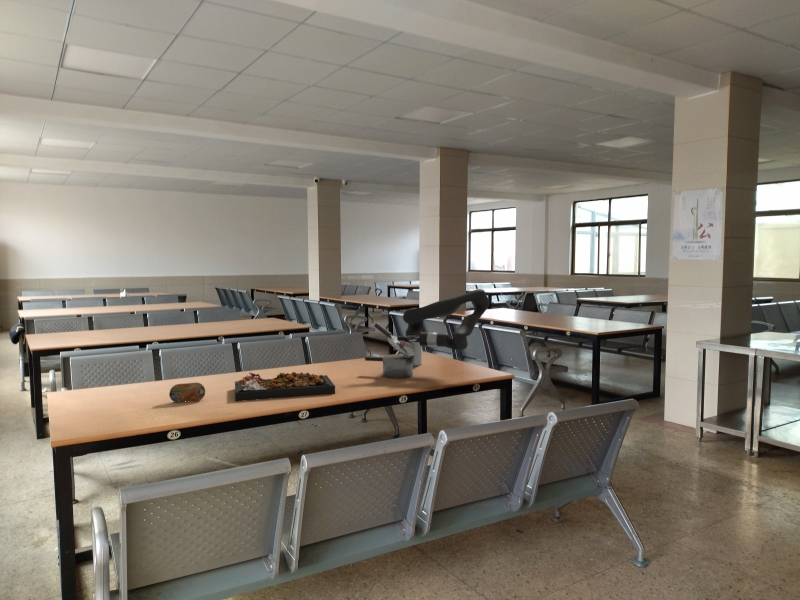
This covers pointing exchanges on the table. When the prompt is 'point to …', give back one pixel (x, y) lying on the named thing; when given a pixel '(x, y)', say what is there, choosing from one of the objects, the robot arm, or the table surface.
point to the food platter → (282, 386)
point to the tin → (187, 392)
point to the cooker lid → (396, 342)
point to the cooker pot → (395, 365)
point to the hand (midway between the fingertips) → (397, 338)
